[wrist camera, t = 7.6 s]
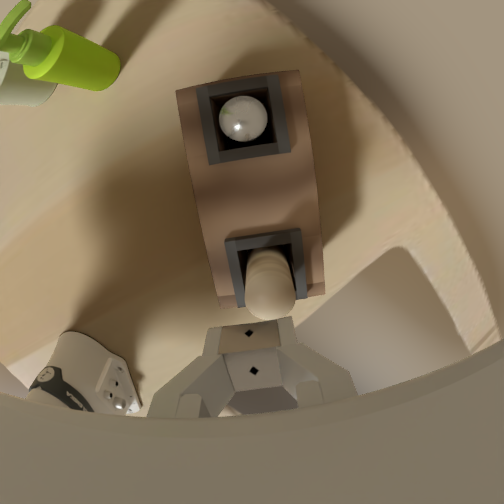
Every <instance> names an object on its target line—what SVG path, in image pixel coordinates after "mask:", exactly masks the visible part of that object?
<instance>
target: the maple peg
mask: <svg viewBox="0 0 504 504" xmlns="http://www.w3.org/2000/svg"><path fill="white" fill-rule="evenodd" d="M295 300H296V295H295V290H294V286H293V282H292V278H291V274H290V270H289V266H288V262H287V258H286V254H285V251H284V250H283V248H282V247H281V246H280V245H274V246H267V247H260V248H253V249H250V251H249V253H248V257H247V271H246V285H245V304H246V307H247V309H248V310H249V311H250V313H252V314H253V315H254V316H256V317H258V318H260V319H264V320H275V319H279V318H281V317H283V316H285V315H286V314H288V313H289V312H290V311H291V310H292V308H293V306H294V304H295Z"/></svg>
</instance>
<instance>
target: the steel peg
mask: <svg viewBox="0 0 504 504" xmlns="http://www.w3.org/2000/svg"><path fill="white" fill-rule="evenodd" d="M219 123H220V126H221V129H222V130H223V132H224V133H225V134H226V135H227V136H228V137H230V138H231V139H234V140H237V141H241V142H251V141H254V140H256V139H257V138H259V137H260V136H261V134H262V133H263V131H264V129H265V127H266V124H267V113H266V110H265V108H264V106H263V105H262V104H261V103H260V102H259V101H258V100H256V99H255V98H252V97H249V96H238V97H235V98H232V99H230V100H229V101H228V102H226V103H225V105H224V106H223V107H222V109H221V111H220V115H219Z"/></svg>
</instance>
